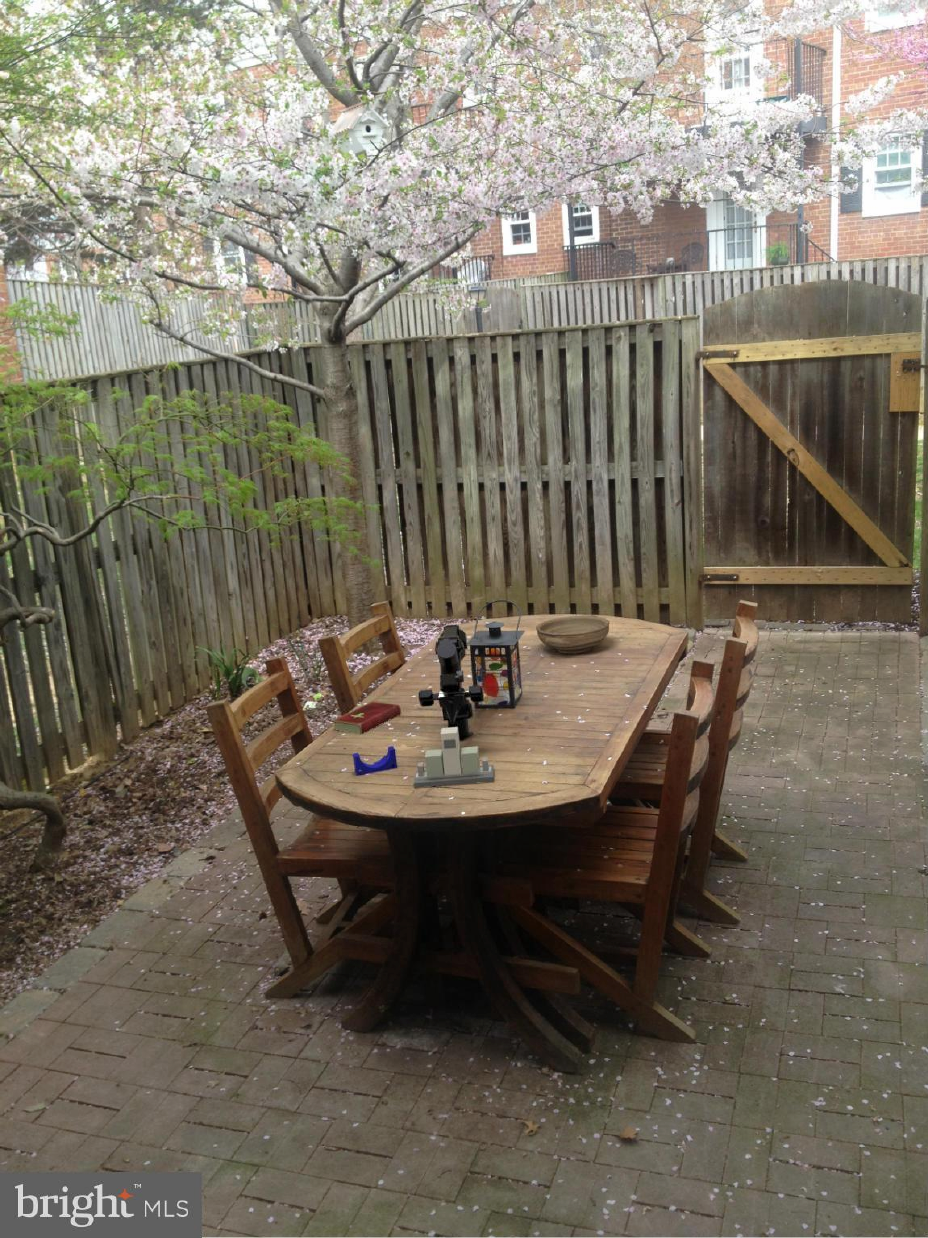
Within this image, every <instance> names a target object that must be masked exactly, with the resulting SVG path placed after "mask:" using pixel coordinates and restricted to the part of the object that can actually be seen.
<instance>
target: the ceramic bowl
mask: <svg viewBox="0 0 928 1238" xmlns="http://www.w3.org/2000/svg"><path fill="white" fill-rule="evenodd" d="M535 629H536V634H537V637H538V639H539V641H540V642H541V643H543V644H544V645H545V646H546V647H550V648H552V649H555V650H556V649H557V652H559V653H561V654H567V653H573V654H580V653H585V652H588V651H590V650H591V649H592V647H594V646H595V645H597V644H601V642H603V641H604V640H605V639H606V638H607V636H608V634H609V632H610V621H609V620H608V619H607V618H604V617H601V616H597V615H594V614H593V615H572V616H562V617H558V618H557V617H556V618H551V619H548V620H545V621H543V622H540V623H539V624H537V625H536V627H535Z"/></svg>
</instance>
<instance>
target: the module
mask: <svg viewBox="0 0 928 1238" xmlns="http://www.w3.org/2000/svg"><path fill="white" fill-rule="evenodd" d="M440 739H441V740H440V741H441V749H442V753H443V762H444V770H445V775H456V774H461V772H462V758H461V746H460V740H459V734H458V727H451V728H448V727H442V728H441V730H440Z"/></svg>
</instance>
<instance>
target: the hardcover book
mask: <svg viewBox="0 0 928 1238" xmlns="http://www.w3.org/2000/svg"><path fill="white" fill-rule="evenodd" d="M401 708H402V707H401V705H400V704H398V703H397V704H396V703H390V702H389V703H388V702H380V701H375V700H373V701H372V700H371V701H370V702H368V703H366V704H364V705H362V706H360V707H358V708H355V709H354V710H352V711H350V712H347V713H345V714H343V715H341V716H339V717H337V718H336V719H333V720H332V721H331V722H332V723H333V726H334V730H335V729H337V730H341V731H344V732H343V733H348V732H353V733H352V734H355V733H358V735H360V736H362V735H363V733H364V732H366V733H368V732H369V730H370V729H372V728H373V729H375V728H377V727H379V726H380V725H379V724H381V723H383V724H385V723H387V722H389V721H390V720H389V719H391V720H393V719H395V718H397V717H398V716H397V715H399V716H401V715H402V710H401ZM400 714H401V715H400ZM396 716H397V717H396ZM394 717H395V718H394ZM388 720H389V721H388ZM386 721H387V722H386ZM384 722H385V723H384ZM378 725H379V726H378ZM381 725H382V724H381ZM376 726H377V727H376ZM373 729H372V730H373ZM341 731H340V732H341ZM367 731H368V732H367ZM370 731H371V730H370ZM361 734H362V735H361ZM364 734H365V733H364Z"/></svg>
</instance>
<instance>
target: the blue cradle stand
mask: <svg viewBox="0 0 928 1238" xmlns="http://www.w3.org/2000/svg"><path fill="white" fill-rule="evenodd" d="M396 753H397V752H396V748H395V746H393V745H392V746H388V747H387V752H386V755H383V757H381V758H380V759H379V760H377V761H375V762H373V764H368V763H366V762H365V761H363V760H362V759H361V757H360V755H359V753H358V752H354V753H352V759H353V760H352V761H353V766H354V773H355V776H357V777H358V776H363V775H368V774H374V773H378V772H384V771H388V770H394V769H398V763H397V754H396Z"/></svg>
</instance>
